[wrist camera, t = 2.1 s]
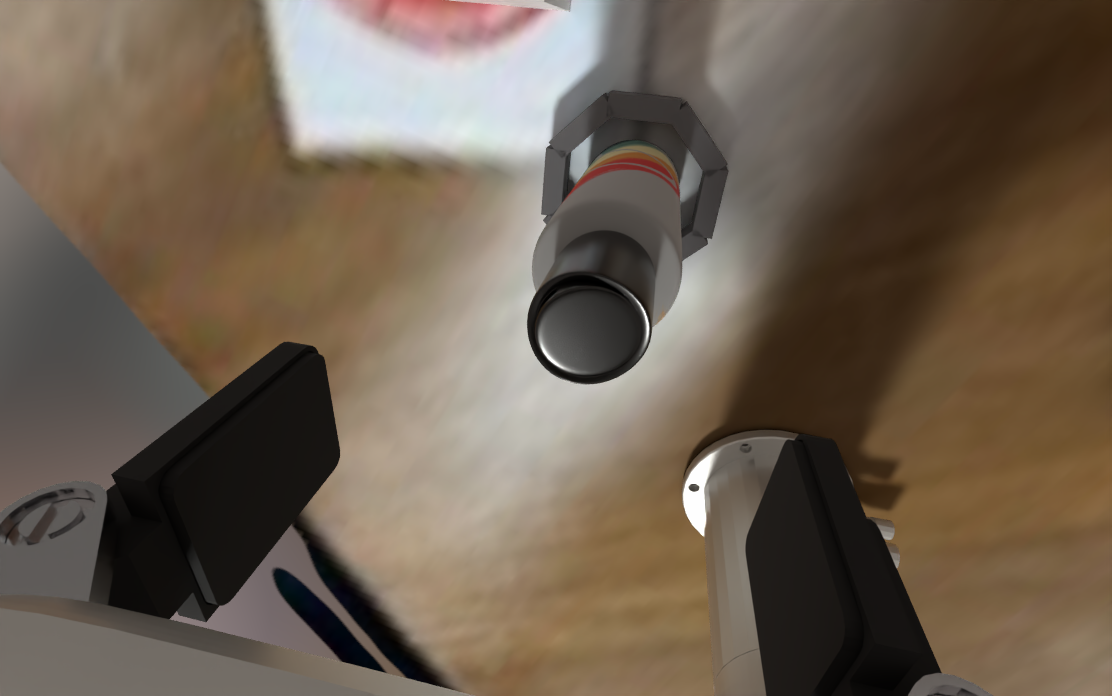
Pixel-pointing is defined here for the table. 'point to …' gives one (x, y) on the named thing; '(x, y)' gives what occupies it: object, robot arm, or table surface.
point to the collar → (652, 111)
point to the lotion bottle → (607, 265)
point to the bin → (528, 3)
